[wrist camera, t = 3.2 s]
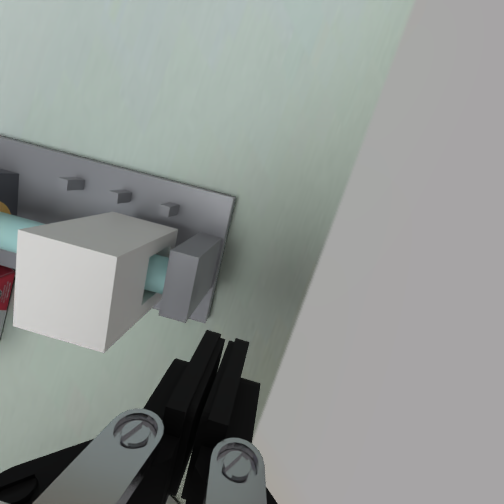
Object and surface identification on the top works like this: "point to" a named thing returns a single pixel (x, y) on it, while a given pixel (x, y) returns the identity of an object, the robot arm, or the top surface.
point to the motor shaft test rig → (124, 202)
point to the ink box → (5, 291)
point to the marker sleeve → (87, 277)
